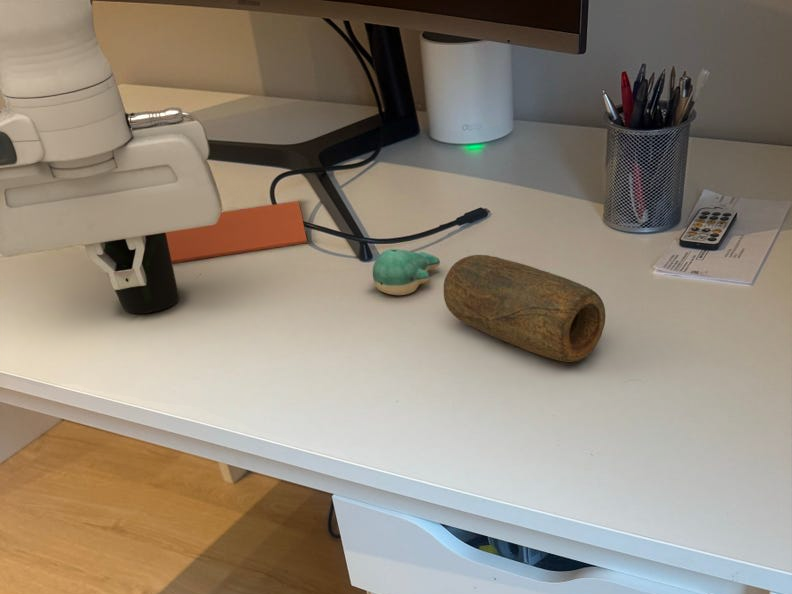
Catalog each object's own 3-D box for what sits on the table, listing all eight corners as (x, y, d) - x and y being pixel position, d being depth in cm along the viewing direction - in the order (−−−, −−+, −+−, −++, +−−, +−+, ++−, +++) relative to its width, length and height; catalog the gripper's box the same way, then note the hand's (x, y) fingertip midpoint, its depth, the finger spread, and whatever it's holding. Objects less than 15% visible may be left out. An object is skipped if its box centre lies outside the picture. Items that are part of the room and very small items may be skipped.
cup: (143, 284, 94) (102, 158, 86) (204, 289, 92) (168, 160, 83) (95, 314, 89) (47, 183, 81) (159, 320, 86) (116, 186, 78)
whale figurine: (361, 290, 89) (355, 251, 87) (413, 263, 93) (408, 225, 90) (403, 305, 86) (398, 266, 84) (454, 277, 90) (451, 238, 87)
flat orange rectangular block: (121, 271, 96) (120, 268, 96) (127, 228, 105) (126, 226, 104) (307, 242, 98) (306, 240, 98) (299, 203, 107) (298, 200, 106)
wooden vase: (615, 348, 78) (619, 271, 73) (565, 382, 75) (566, 304, 70) (486, 303, 85) (481, 231, 81) (435, 332, 82) (427, 259, 77)
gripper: (198, 93, 78) (241, 254, 88) (-45, 128, 76) (26, 288, 86) (197, 114, 73) (242, 281, 83) (-62, 152, 72) (16, 318, 81)
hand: (131, 285), depth 84 cm, fingers closed, pressing on cup
